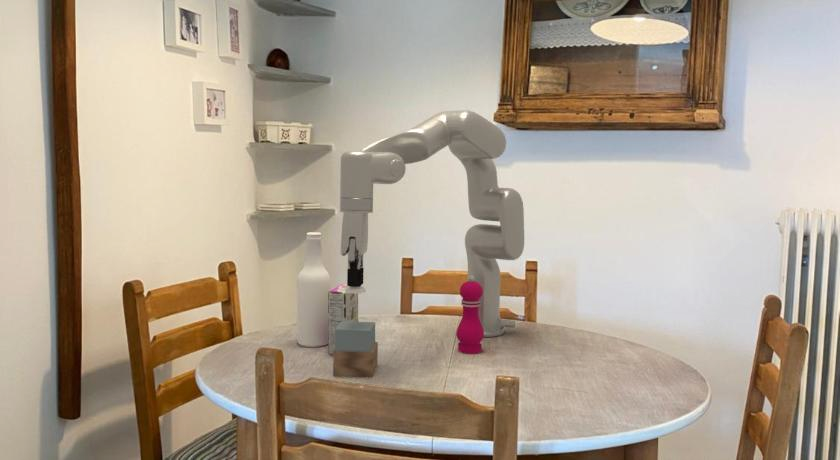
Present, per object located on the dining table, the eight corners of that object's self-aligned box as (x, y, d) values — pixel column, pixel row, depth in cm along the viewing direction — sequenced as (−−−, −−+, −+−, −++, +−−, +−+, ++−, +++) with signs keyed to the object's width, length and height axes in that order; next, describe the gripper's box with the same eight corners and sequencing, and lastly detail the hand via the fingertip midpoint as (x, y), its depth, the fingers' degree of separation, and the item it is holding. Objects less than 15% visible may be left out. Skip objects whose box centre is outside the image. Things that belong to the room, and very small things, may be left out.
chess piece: (369, 290, 151) (369, 248, 150) (360, 294, 146) (361, 250, 145) (350, 289, 152) (350, 247, 151) (340, 292, 148) (341, 249, 147)
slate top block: (375, 342, 154) (375, 322, 154) (369, 352, 146) (369, 330, 146) (342, 341, 155) (342, 321, 154) (335, 350, 147) (335, 329, 146)
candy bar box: (341, 343, 175) (341, 283, 173) (358, 344, 174) (359, 284, 172) (327, 354, 164) (327, 291, 162) (345, 356, 163) (346, 292, 161)
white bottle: (309, 337, 180) (309, 230, 177) (336, 341, 176) (336, 232, 173) (290, 345, 172) (290, 233, 169) (318, 349, 168) (318, 235, 165)
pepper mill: (487, 349, 171) (489, 274, 169) (478, 356, 165) (480, 278, 163) (461, 345, 174) (463, 272, 172) (451, 352, 168) (453, 276, 166)
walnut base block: (377, 366, 155) (377, 342, 155) (372, 378, 147) (372, 352, 146) (340, 365, 156) (340, 340, 155) (333, 377, 147) (333, 351, 146)
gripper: (346, 203, 156) (345, 279, 157) (333, 207, 140) (332, 291, 141) (377, 204, 155) (375, 280, 157) (367, 208, 139) (366, 292, 141)
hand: (355, 284), depth 149 cm, fingers closed on chess piece
